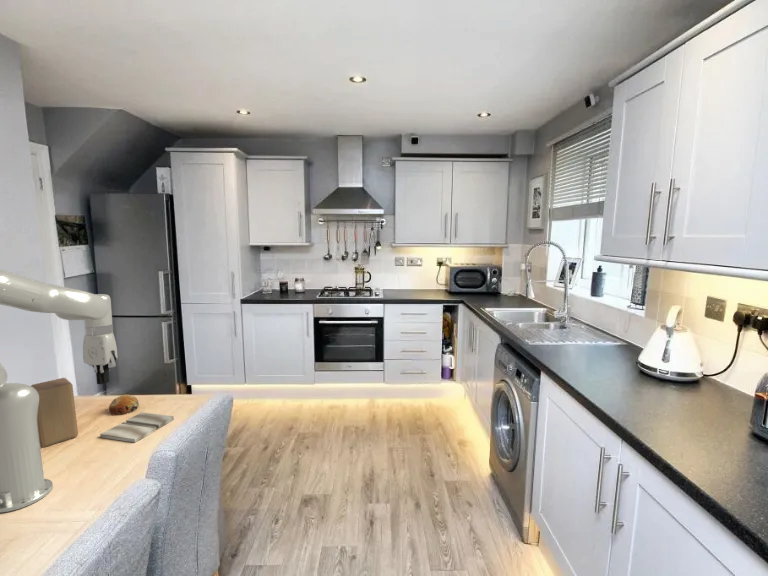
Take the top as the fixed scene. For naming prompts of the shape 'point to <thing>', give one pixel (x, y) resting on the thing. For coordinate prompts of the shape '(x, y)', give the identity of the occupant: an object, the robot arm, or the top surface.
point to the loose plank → (128, 432)
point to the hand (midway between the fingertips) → (103, 382)
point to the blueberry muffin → (123, 405)
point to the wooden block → (56, 412)
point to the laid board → (151, 419)
